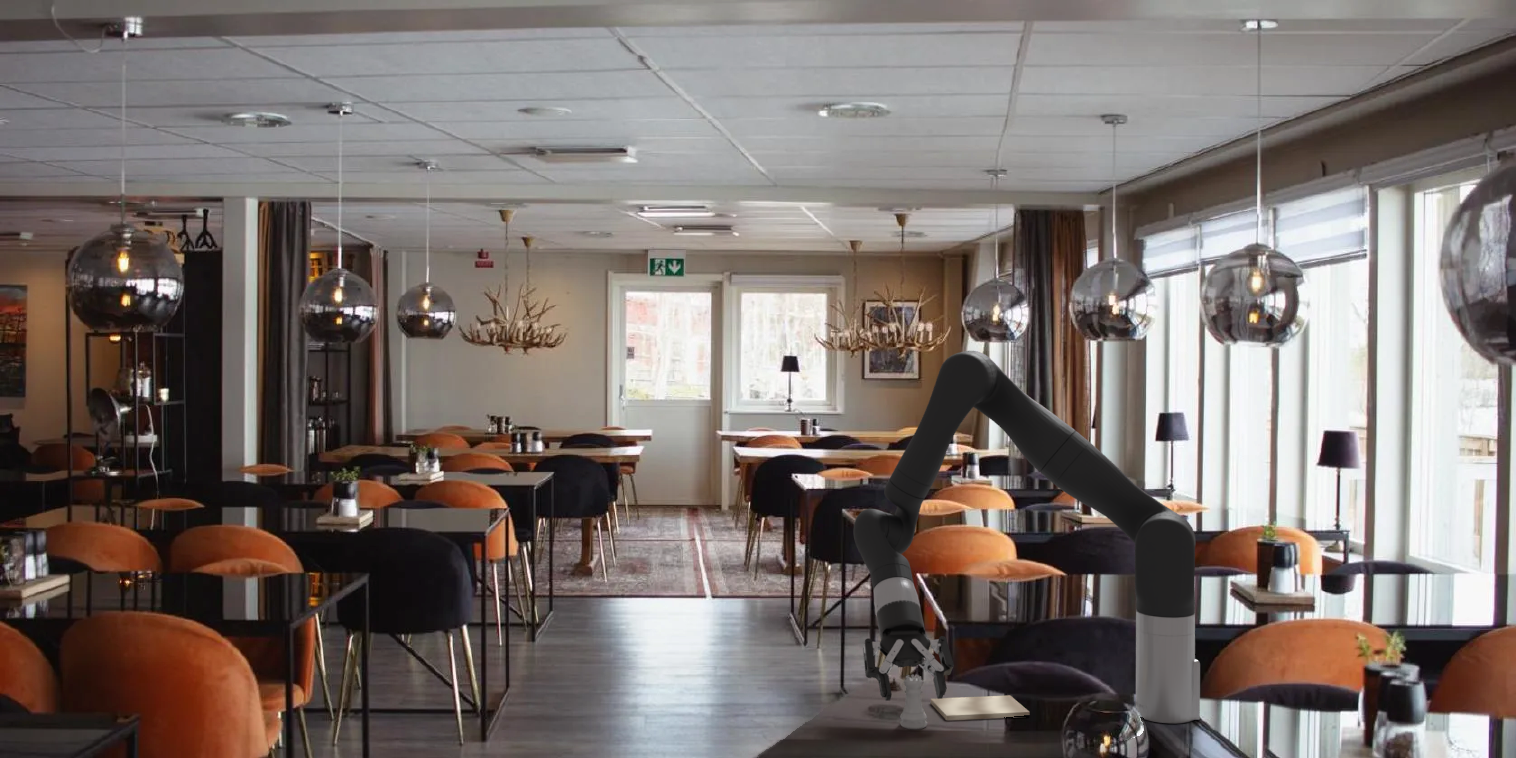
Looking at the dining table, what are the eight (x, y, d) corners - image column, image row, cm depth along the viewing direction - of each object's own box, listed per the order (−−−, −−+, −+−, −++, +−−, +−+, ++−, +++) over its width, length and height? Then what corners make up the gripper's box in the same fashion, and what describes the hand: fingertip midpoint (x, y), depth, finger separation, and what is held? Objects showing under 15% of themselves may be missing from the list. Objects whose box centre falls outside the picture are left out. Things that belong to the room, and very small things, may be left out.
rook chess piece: (926, 730, 206) (926, 680, 206) (898, 729, 207) (898, 679, 207) (928, 722, 210) (928, 673, 210) (900, 721, 211) (900, 672, 211)
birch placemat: (1010, 699, 223) (1010, 695, 223) (1029, 716, 213) (1029, 711, 213) (930, 703, 221) (930, 698, 221) (946, 720, 212) (946, 715, 211)
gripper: (859, 600, 215) (874, 687, 204) (943, 597, 217) (962, 683, 206) (853, 624, 220) (867, 710, 209) (935, 622, 222) (953, 707, 211)
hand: (915, 697), depth 208 cm, fingers open, 8 cm apart
